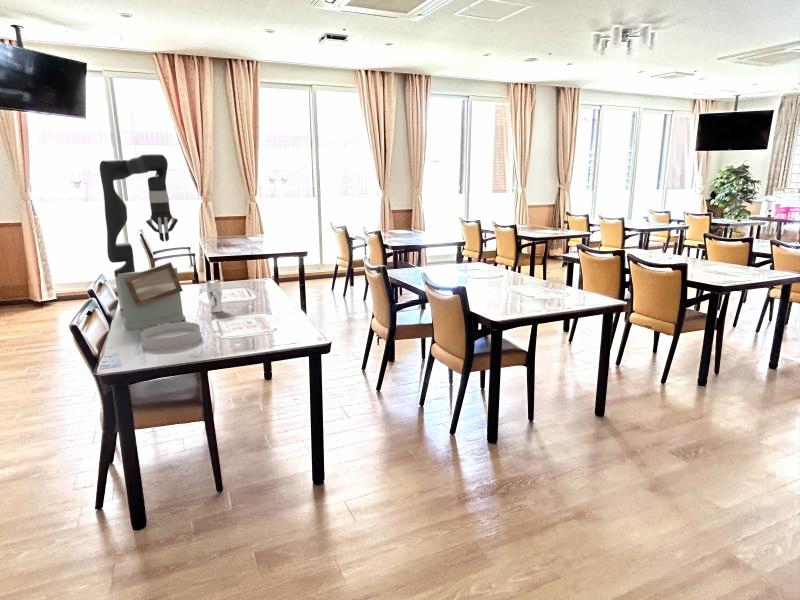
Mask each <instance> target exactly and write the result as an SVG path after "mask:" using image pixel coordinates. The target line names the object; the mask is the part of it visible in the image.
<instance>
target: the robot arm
mask: <svg viewBox="0 0 800 600" xmlns="http://www.w3.org/2000/svg"><path fill="white" fill-rule="evenodd" d="M168 164H169V163H168V159H167V158H166V156H165V155H163V154H160V153H144V154H141V155H140V156H137V157H136V156H135V157H132V158H130V159H120V158H116V159H105V160H102V161H100V163H99V174H100V180H101V185H102V191H103V201H104V216H105V217H104V218H105V225H106V233H107V234H106V237H107V238H106V240H107V242H106V243H107V247H106V248H107V249H106V252H107V257H108V261H110V263H115V264H116V263H124V264H123V265H121V266H120V267H118V268H116V269H115V270H114V272H113V273H114V279H115V284H116V285H115V286H116V291H117V298H118V303H119V304H118V305H119V309H120V310H121V309H123V305H122V299H121V292H120V286H119V280H118V274H121V273H130V272H136V270H135V262H134V250H133V246H132V245H131V244H130V243H129V242H122V243H121V242H120V243H119V242H118V243H117V240H118V236H119V234H120V233H121V231H122V230H123V228H124V227H125V226H126V223H127V221H128V211H127V210H128V209H127V206H126V203H125V202H124V201H123V199H122V198H121V197H120V195H119V194H118V193H117V192H116V189H115V185H114V181H117V180H118V181H119V180H124V179H127V178H129V177H131V176H132V175H140V174H141V175H142V174H145V173H146V174H147V173H149V172H155V175H154V176H150V177H148V178H147V186H148V195H149V197H148V198H149V204H150V205H149V206H150V212H151V215H150V218H149V219H148V220H145V223H146V224H147V225H148V227H150V228H151V229H152V230H153V231H154V232H155V233H158V234H159V240H160V241H161V242H163V243H164V242H168V241H169V240H170V236H169V233H170V232H172V231H173V230H174V228H175V226H176V224H177V223H178V222H179V221H178V218H177V217H176V218H175V217H174V216H173V215H172V214H171V207H170V199H169V195H168V190H167V183H166V180H167V173H168V172H167V171H168ZM170 221H171V223H170ZM153 223H155V224H156V226H157V227H155V225H154V224H153ZM169 223H170V226H169ZM162 225H163V226H162ZM163 229H164V230H163ZM163 231H164V233H163Z"/></svg>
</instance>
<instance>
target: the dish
mask: <svg viewBox="0 0 800 600" xmlns="http://www.w3.org/2000/svg"><path fill="white" fill-rule="evenodd" d="M140 336H141V346H142V348H144V349H146V348H147V349H146V350H150V349H168V350H174V348H176V349H180V348H184V347H188V346H191V345H193V343H194V344H196V343H198V342H199V341H201V339H202V332H201V328H200V324H198V323H195V322H190V321H189V322H186V321H180V322H174V323H168V324H162V325H156V326H150V327H147V328H146V329H144V330H143V331H142V332H141V334H140ZM197 341H198V342H197Z"/></svg>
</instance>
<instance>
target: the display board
mask: <svg viewBox="0 0 800 600" xmlns="http://www.w3.org/2000/svg"><path fill="white" fill-rule="evenodd" d="M173 268H174V271H175V273H176V276H177V278H178V279H179V275H178V274H179V273H178V267H175V266H174V267H173ZM143 271H144V270H140V271H135V272H130V273H121V274H118V280H119V286H120V292H121V299H122V305H123V310H122V311H123V315H124V316H123V318H124V319H123V321H124V326H125V325H126V326H125V328H126V330H127V331H131V330H136V328H137V329H142V328H141V327H144V328H148V327H147V326H150V327H154V325H156V326H158V324H162V325H163V324H164V323H171V322H174V323H177V322H176V321H180V322H183V321H182V320H186V315H185V314H184V312H183V305H182V298H181V292H179V293H176V294H173V295H171V296H168V297H165V298H163V299H160V300H158V301H155V302H152V303H150V304H147V305H144V306H142V307H139V308H137V306H136V304H135V302H134V299H133V297H132V295H131V293H130V291H129V288H128V286H127V284H126V282H125V280H124V278H125V277H128V276H131V275H134V274H137V273H140V272H143ZM186 321H187V320H186Z"/></svg>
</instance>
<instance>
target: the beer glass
mask: <svg viewBox="0 0 800 600" xmlns="http://www.w3.org/2000/svg"><path fill="white" fill-rule="evenodd" d="M205 288H206V295H207V299H208V302H209V312H210V313H212V314H216V313H215V312H218V313H221V311H222V312H223V311H224V309H223V306H222V297H223V292H222V283H221V280H219V279H213V280H208V281H207V280H206V281H205Z"/></svg>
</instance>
